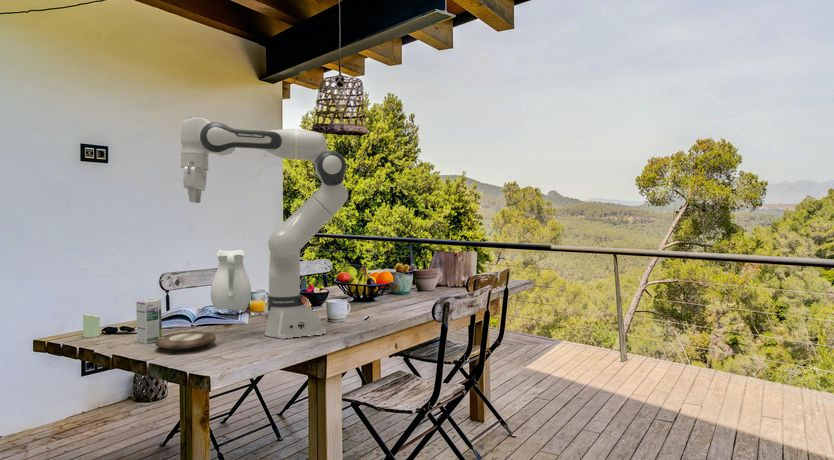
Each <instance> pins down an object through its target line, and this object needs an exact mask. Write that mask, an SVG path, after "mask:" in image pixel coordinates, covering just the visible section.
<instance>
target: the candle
mask: <svg viewBox="0 0 834 460" xmlns="http://www.w3.org/2000/svg"><path fill="white" fill-rule="evenodd" d="M82 314H83V313H82ZM100 318H101V317H100V316H99V315H93V314H87V313H84V314H83V315H82V327H83V328H82V330H83V332H82V334H83V338H84V339H86V338H88V339H89V338H97V337H100V336H101V335H100V334H101V329H100V328H101V321H100V320H101V319H100Z"/></svg>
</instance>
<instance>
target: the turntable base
mask: <svg viewBox="0 0 834 460" xmlns="http://www.w3.org/2000/svg"><path fill="white" fill-rule="evenodd" d="M203 346H204V345H201V346H196V347H188V348H168V350H170V351H173V352H188V351H189V352H190V351H194V350H199V349H201V348H202V347H203Z"/></svg>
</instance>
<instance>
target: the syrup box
mask: <svg viewBox="0 0 834 460" xmlns="http://www.w3.org/2000/svg"><path fill="white" fill-rule="evenodd" d="M135 302H136V303H135V304H136V305H135V307H136V308H135V310H136V313H135V314H136V342H138V343H140V344H144V345H148V344H150V343H155V340H156V339H157V338H159V337H161V336H163V332H162V331H163V330H162V329H163V326H162V323H163V321H162V319H163V317H162V299H160V298H157V297H156V298H155V297H152V298H147V299H139V300H136V301H135Z"/></svg>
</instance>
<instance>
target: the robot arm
mask: <svg viewBox="0 0 834 460" xmlns="http://www.w3.org/2000/svg"><path fill="white" fill-rule="evenodd" d="M180 131H181V132H180V144H181V148H182V149H181V151H180V152H181V153H180V167H181V169H183V182H182V183H183V187H184V189H187V194H188V195H187V196H188V202H189V203H195V204H200V203H201V202H202V201H201V199H202V191H203V192H205V191H206V188H207V178H208V177H207V174H208V172H207V171H209V154H215V155H218V156H227V155H230V154H232V153H233V152H234V151H235V149H236V148H240V149H256V150H262V151H265V152H267V153H270V154H272V155H273V156H275V157H277V158H281V159H288V160H304V161H309V162H311V163H312V165H313V169H314V173H315V176H316V177H317V178H318V179H319V180H320V182H321V184H320V187H318V189H317V190H316V191H315V192H314V193H313V194H312V195H311V196H310V197H309V198H308V199H307V200H306V201H305V202H303V204H301V205H300V206H299V208H298V209H296V210H295V211H294V212H293V213H292V214H291V215H290V216H289V217H288V218H286V220H285V221H284V222H283V223H282V224H281V225H280V226H278V227H277V228H276V229H275V230H274V231H273V232H272V233H271V235H270V236H269V239H268V241H267V246H268V250H269V270H268V296H267V304H266V305H267V307H266V308H267V311H268V313H267V320H266V326H265V329H264V336H267V337H270V338H271V337H272V338H278V339H280V340H281V339H282V340H285V339H286V338H288V339H294V338H293V337H299V338H302V337H301V336H308V335H316V334H322V333H324V332H326V330H327V327H326V326H324V325H322V321H321V318H320V316H319V314H318V312H316V311H314V309H312V308H311V307H309V306H308V305H306V303H307V297H306V296H305V295H302V294H300V292H301V286H300V285H301V283H300V281H301V278H300V277H301V271H300V270H301V269H300V268H301V267H300V266H301V265H300V263H301V256H300V254H301V249H303V247H304V246H305V245H306V244H307V243H309V241H311V240H312V238H313V237H315V235H316V234H317V233H318V232H319V231H320V230H321V229H322V228H323V227H324V226H325V225H326V224H327V223H329V221H330V220H331V219H332V218H333V217H334V216H335V215H336V214H337V213H338V212H339V210H340V209H342V207H343V206H344V205H345V203H346V202H347V200H348V198H349V193H348V192H349V191H348V190H347V188H346V186H345V185H344V184H343V181H344V178H345V174H346V170H347V162H346V160H345V158H344V156H343V155H342V154H341V153H339V152H337V151H334V150H328V146H327V139H326V137H325V135H324V134H323V133H321V132H318V131H313V130H308V129H299V128H298V129H297V128H283V129H282V128H281V129H271V130H256V129H242V128H233V127H230V126H228V125H227V124H225V123H222V122H218V121H213V122H211V121H210V120H209V119H206V118H205V117H203V116H191V117H188V118H186V119H184V120H183V122H182V124H181V130H180Z"/></svg>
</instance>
